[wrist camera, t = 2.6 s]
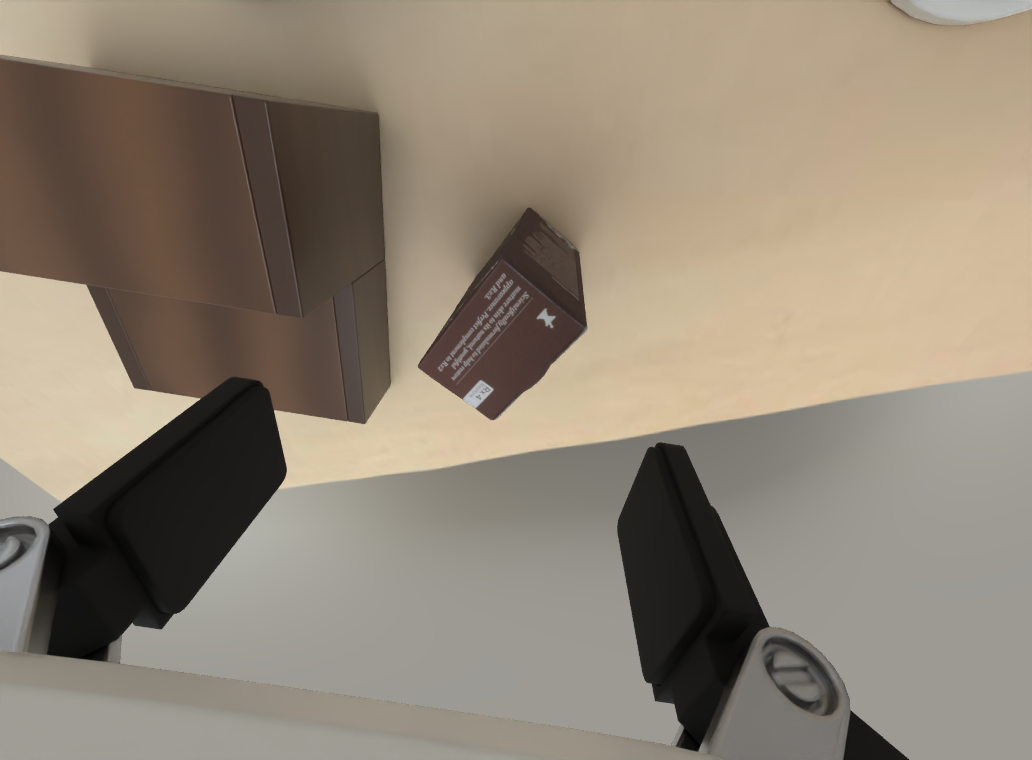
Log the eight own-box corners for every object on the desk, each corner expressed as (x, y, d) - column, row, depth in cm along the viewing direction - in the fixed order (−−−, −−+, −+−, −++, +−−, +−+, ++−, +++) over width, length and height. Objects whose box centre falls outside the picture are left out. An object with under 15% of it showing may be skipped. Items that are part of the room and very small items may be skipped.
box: (525, 201, 23) (502, 254, 13) (580, 251, 25) (599, 334, 14) (467, 278, 26) (411, 370, 16) (520, 319, 27) (499, 429, 17)
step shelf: (378, 113, 22) (266, 100, 13) (390, 385, 31) (330, 478, 23) (89, 67, 22) (-208, 25, 13) (190, 353, 31) (55, 435, 23)
